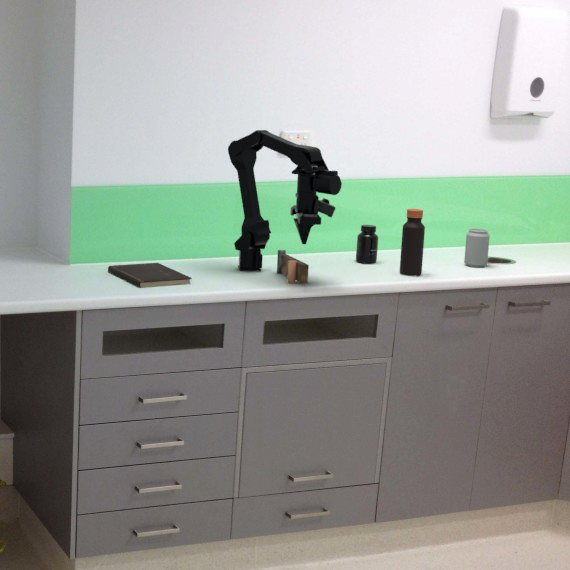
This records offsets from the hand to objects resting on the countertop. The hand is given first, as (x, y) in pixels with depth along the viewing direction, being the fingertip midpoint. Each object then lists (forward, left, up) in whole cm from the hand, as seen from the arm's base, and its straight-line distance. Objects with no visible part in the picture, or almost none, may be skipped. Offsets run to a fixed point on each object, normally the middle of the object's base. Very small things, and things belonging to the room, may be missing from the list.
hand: (303, 244), depth 313 cm
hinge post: (-5, +10, -11) cm, 16 cm away
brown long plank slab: (-2, 0, -10) cm, 11 cm away
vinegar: (+36, +12, -11) cm, 40 cm away
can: (+62, +27, -11) cm, 69 cm away
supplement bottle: (+26, +30, -11) cm, 41 cm away
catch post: (-4, -3, -11) cm, 12 cm away
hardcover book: (-45, +1, -12) cm, 46 cm away
